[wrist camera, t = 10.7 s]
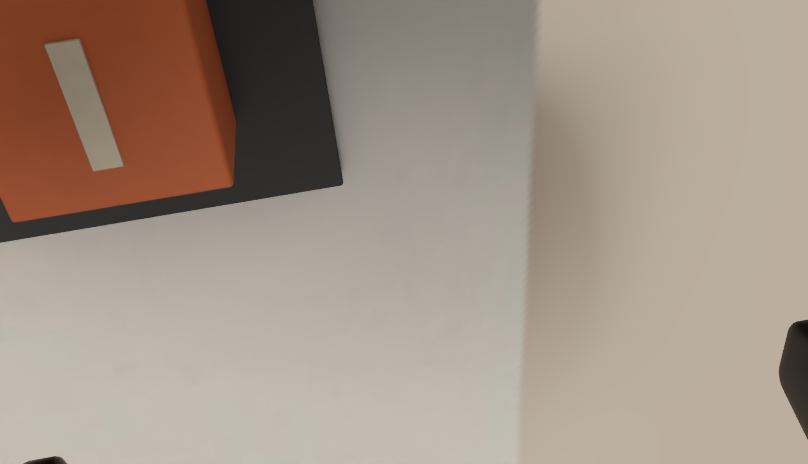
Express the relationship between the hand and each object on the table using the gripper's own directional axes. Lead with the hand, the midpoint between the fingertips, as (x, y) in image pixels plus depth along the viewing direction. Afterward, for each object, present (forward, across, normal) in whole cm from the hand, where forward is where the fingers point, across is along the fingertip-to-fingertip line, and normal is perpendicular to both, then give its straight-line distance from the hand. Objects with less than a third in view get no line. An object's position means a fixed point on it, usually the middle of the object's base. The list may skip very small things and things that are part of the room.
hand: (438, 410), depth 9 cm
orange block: (+10, +5, -2) cm, 12 cm away
